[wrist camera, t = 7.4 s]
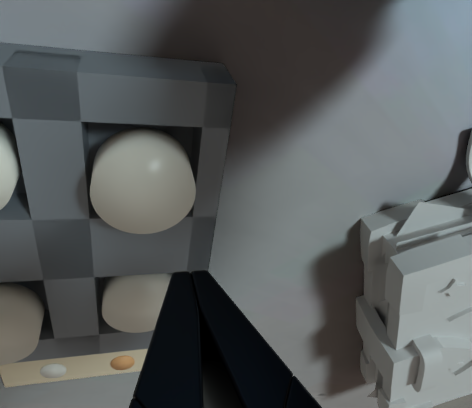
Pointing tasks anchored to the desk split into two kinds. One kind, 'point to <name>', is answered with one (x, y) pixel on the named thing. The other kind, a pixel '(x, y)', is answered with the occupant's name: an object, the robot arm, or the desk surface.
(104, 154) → the button
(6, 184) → the button
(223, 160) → the button board
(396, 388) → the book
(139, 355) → the pattern card
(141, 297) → the button
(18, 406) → the desk surface
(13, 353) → the button
